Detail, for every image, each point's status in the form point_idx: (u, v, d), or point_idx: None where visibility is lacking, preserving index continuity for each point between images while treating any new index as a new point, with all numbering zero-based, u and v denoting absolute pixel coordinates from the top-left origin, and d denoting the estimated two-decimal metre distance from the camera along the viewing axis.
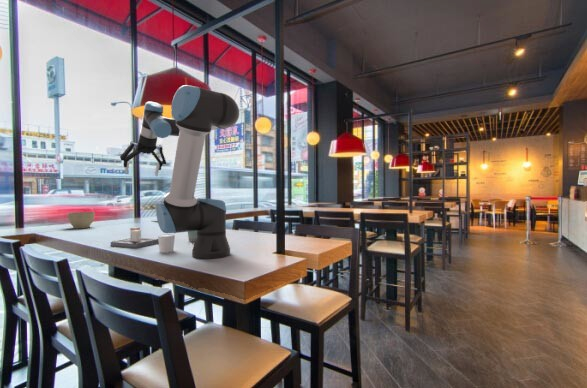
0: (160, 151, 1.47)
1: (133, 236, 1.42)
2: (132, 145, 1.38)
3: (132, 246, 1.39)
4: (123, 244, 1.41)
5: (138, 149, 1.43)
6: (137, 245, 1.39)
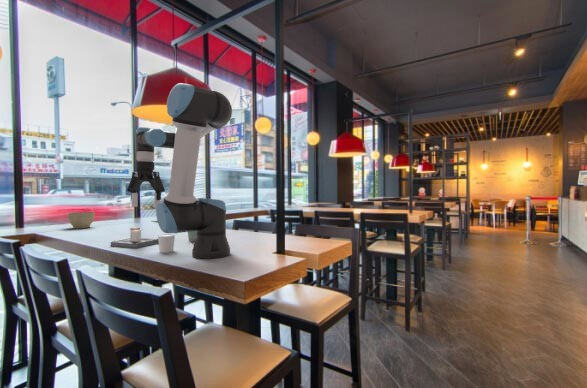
0: (154, 176, 1.37)
1: (133, 236, 1.42)
2: (133, 173, 1.41)
3: (132, 246, 1.39)
4: (123, 244, 1.41)
5: None
6: (137, 245, 1.39)
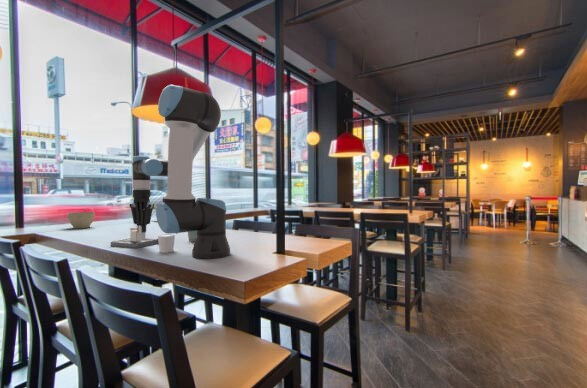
0: (147, 208, 1.39)
1: (133, 236, 1.42)
2: (130, 205, 1.42)
3: (132, 246, 1.39)
4: (123, 244, 1.41)
5: None
6: (137, 245, 1.39)
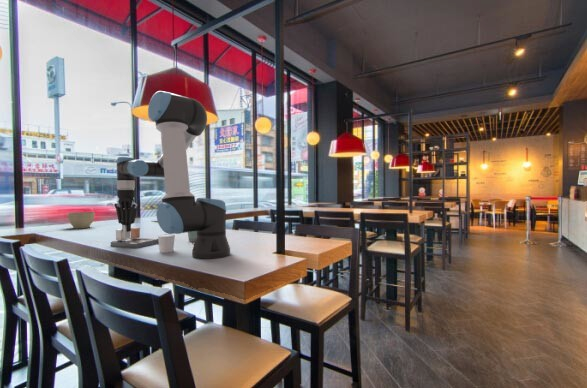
0: (131, 208, 1.42)
1: (118, 235, 1.45)
2: (115, 205, 1.45)
3: (132, 246, 1.39)
4: (123, 244, 1.41)
5: None
6: (137, 245, 1.39)
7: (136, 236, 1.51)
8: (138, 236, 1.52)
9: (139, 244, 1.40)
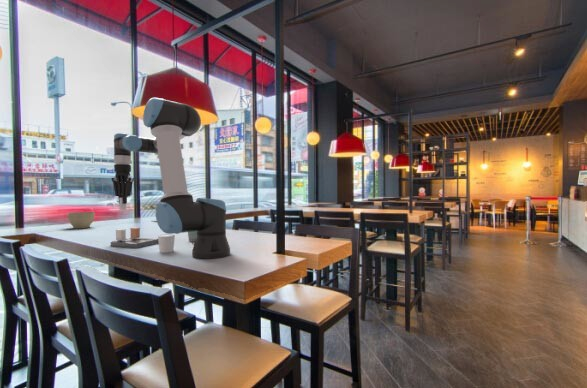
0: (127, 181, 1.52)
1: (118, 235, 1.45)
2: (112, 179, 1.55)
3: (132, 246, 1.39)
4: (123, 244, 1.41)
5: None
6: (137, 245, 1.39)
7: (136, 236, 1.51)
8: (138, 236, 1.52)
9: (139, 244, 1.40)
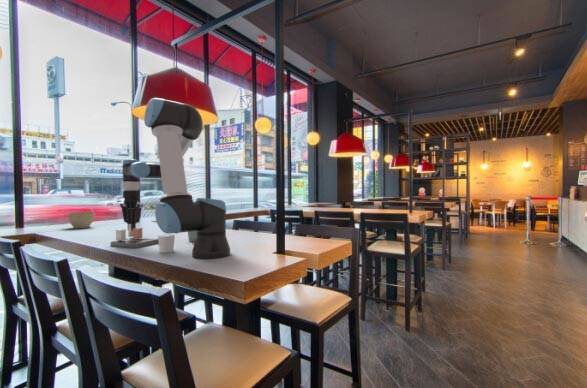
0: (136, 207, 1.50)
1: (118, 235, 1.45)
2: (121, 205, 1.53)
3: (132, 246, 1.39)
4: (123, 244, 1.41)
5: None
6: (137, 245, 1.39)
7: (139, 236, 1.50)
8: (141, 236, 1.51)
9: (139, 244, 1.40)
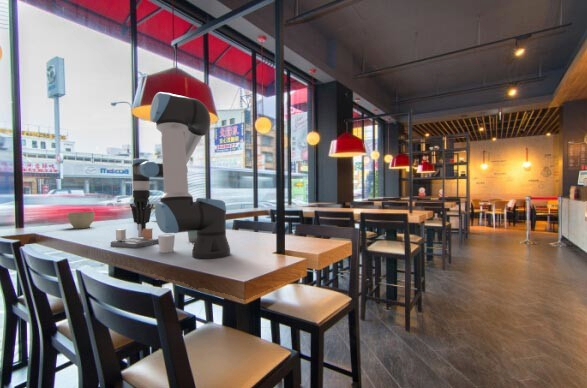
0: (146, 207, 1.48)
1: (118, 235, 1.45)
2: (130, 205, 1.51)
3: (132, 246, 1.39)
4: (123, 244, 1.41)
5: None
6: (137, 245, 1.39)
7: (149, 237, 1.48)
8: (151, 237, 1.49)
9: (139, 244, 1.40)
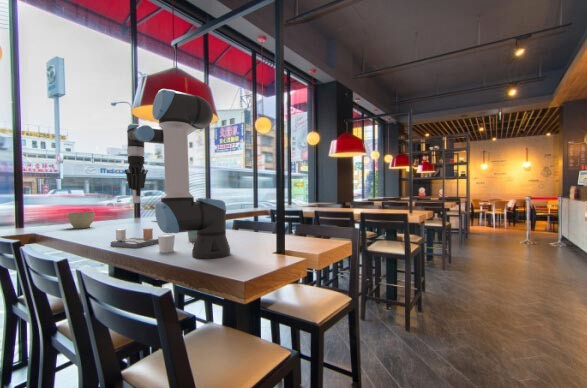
0: (141, 173, 1.49)
1: (118, 235, 1.45)
2: (125, 171, 1.52)
3: (132, 246, 1.39)
4: (123, 244, 1.41)
5: None
6: (137, 245, 1.39)
7: (149, 237, 1.48)
8: (151, 237, 1.49)
9: (139, 244, 1.40)
